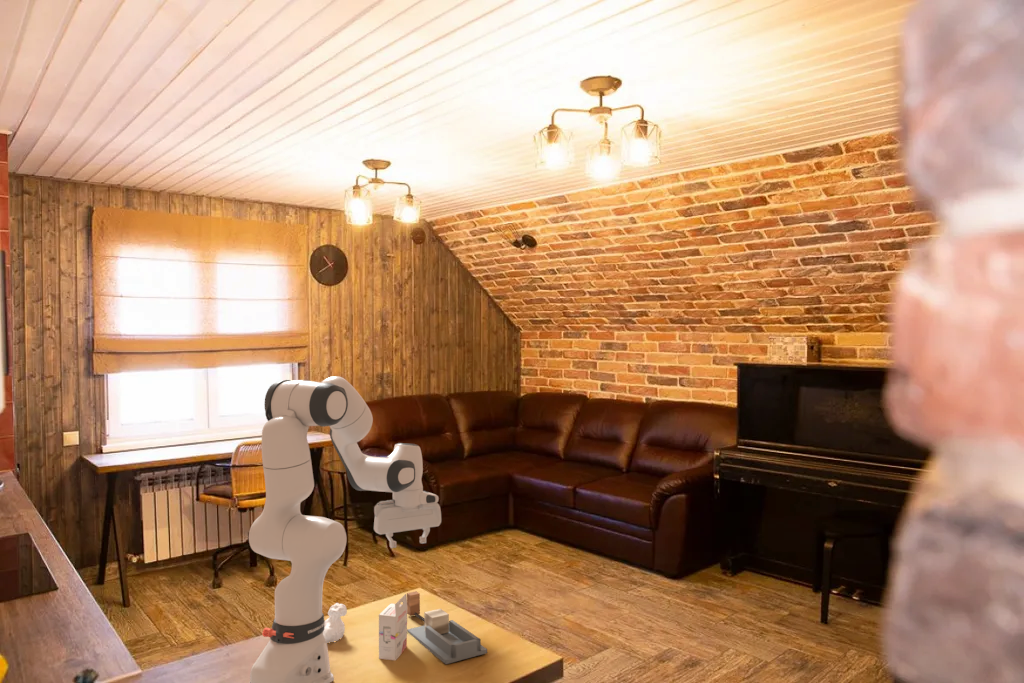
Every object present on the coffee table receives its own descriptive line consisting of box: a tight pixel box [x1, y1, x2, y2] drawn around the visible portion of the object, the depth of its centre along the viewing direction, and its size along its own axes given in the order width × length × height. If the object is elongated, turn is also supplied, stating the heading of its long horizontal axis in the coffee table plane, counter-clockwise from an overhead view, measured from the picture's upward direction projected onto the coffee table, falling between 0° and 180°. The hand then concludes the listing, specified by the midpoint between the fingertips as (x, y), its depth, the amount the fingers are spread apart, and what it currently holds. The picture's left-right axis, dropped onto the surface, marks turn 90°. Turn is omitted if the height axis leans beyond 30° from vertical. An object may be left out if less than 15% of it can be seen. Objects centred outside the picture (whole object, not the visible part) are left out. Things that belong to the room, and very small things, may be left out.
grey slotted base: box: [407, 619, 488, 665], centre depth 200 cm, size 24×12×4 cm, turn 32°
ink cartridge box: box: [378, 593, 408, 661], centre depth 193 cm, size 9×5×15 cm, turn 168°
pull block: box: [406, 590, 450, 634], centre depth 211 cm, size 19×5×6 cm, turn 32°
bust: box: [323, 602, 348, 644], centre depth 203 cm, size 12×8×11 cm
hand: (408, 545), depth 217 cm, fingers open, 8 cm apart
